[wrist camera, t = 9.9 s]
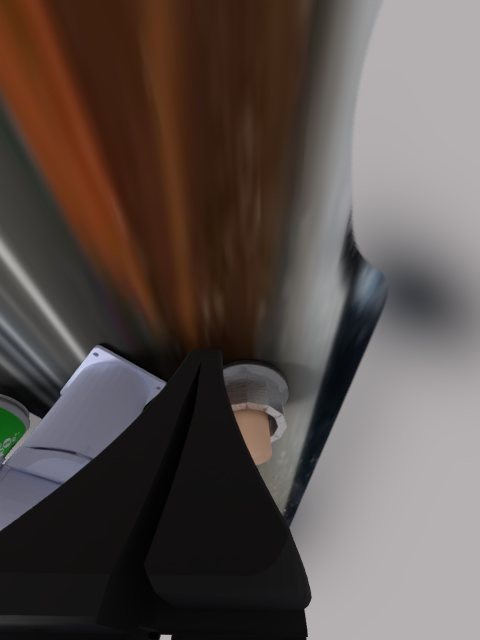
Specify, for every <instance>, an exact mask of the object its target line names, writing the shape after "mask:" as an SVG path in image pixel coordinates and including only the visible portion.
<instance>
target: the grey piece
mask: <svg viewBox="0 0 480 640" xmlns="http://www.w3.org/2000/svg"><path fill="white" fill-rule="evenodd" d="M223 374H224V381H225V386H226V390H227V393H228V397H229V400H230V403H231V406H232V410H233V411H235V410H241V409H246V408H249V409H255V410H262V411H265V412H266V413H268V421H269V430H270V439H271V442H273V441H275V440H277V439H279V438H280V437H281V436H282V434H283V433H284V431H285V429H286V428H287V424H286V418H285V413H284V406H285V404H286V403H287V400H288V397H289V391H288V386H287V381H286V379H285V377H284V375H283V374H282V373H281V371H279V370H278V369H277V368H276V367H274V366H272V365H270V364H268V363H265V362H262V361H258V360H237V361H232V362H229V363H226V364H224V365H223Z"/></svg>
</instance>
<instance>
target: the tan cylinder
mask: <svg viewBox="0 0 480 640" xmlns="http://www.w3.org/2000/svg"><path fill="white" fill-rule="evenodd" d="M233 412H234V415H235V418H236V421H237V423H238V426H239V429H240V431H241V433H242V436H243V438H244V441H245V443H246V445H247V448H248V450H249V452H250V454H251V456H252V458H253V460H254V462H255V465H258V464H262V463H264V462H266V461H268V460H269V459H270V458H271V456H272V448H271V439H270V430H269V421H268V413H266V412H265V411H262V410H255V409H249V408H246V409H241V410H235V411H233Z"/></svg>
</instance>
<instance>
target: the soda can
mask: <svg viewBox="0 0 480 640" xmlns="http://www.w3.org/2000/svg"><path fill="white" fill-rule="evenodd" d="M29 427H30V421H29V412H28V410H27V408H26V407H25V406H24V405H23V404H21V403H20V402H18V401H17V400H15V399H13V398H11V397H8V396H6V395H2V394H0V457H2V458H5V456H6V455H7V454H8V453H9V452H10V450H11V449H12V448H13V447H14V446H15V444H16V443H17V442H18V441H19V440H20V438H21V437H22V436H23V435H24V434H25V432H26V431H27V430H28V429H29Z"/></svg>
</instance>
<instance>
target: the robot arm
mask: <svg viewBox="0 0 480 640" xmlns="http://www.w3.org/2000/svg"><path fill="white" fill-rule="evenodd" d="M97 353H98V354H97ZM60 394H61V395H62V396H61V397H60V398H59V399H58V401H57V402H56V403H55V404H54V406H53V407H52V408H51V409H50V411H49V412H48V413H47V414H46V416H45V417H44V418H43V419H42V420H41V422H40V423H39V424H38V426H37V427H36V428H35V429H34V430H33V432H32V433H31V434H30V435H29V437H28V438H27V439H26V440H25V442H24V443H23V444H22V445H21V446H20V447H19V448H18V449H17V450H16V451H15V452H14V454H13V455H12V456H11V457H10V458H9V459H8V460H7V462H6V463H5V464H4V465H3V464H2V463H3V462H4V460H5V458H2V457H0V640H159V639H160V635H172V637H171V640H306V637H308V634H307V625H306V618H305V611H304V609H305V608H306V607H307V606H308V605H309V603H310V601H311V590H310V586H309V582H308V578H307V575H306V572H305V569H304V566H303V563H302V560H301V558H300V555H299V552H298V550H297V548H296V545H295V542H294V540H293V537H292V534H291V532H290V529H289V527H288V525H287V523H286V521H285V520H284V518H283V516H282V514H281V513H280V511H279V509H278V507H277V505H276V504H275V502H274V500H273V498H272V496H271V494H270V492H269V491H268V489H267V487H266V485H265V483H264V481H263V479H262V477H261V475H260V473H259V471H258V469H257V467H256V465H255V462H254V460H253V458H252V456H251V454H250V452H249V450H248V448H247V445H246V443H245V441H244V438H243V436H242V433H241V431H240V429H239V426H238V423H237V421H236V418H235V415H234V412H233V410H232V406H231V403H230V400H229V397H228V393H227V390H226V386H225V381H224V374H223V359H222V351H220V350H191V351H190V352H189V353H188V355H187V356H186V358H185V359H184V361H183V362H182V364H181V365H180V366H179V368H178V369H177V371H176V372H175V373H174V375H173V376H172V377H171V379H170V380H169V381H168V382H167V384H166V382H165V381H163V380H161V379H160V378H158V377H156V376H154V375H152V374H151V373H149V372H147V371H145V370H144V369H142V368H140V367H138V366H136V365H135V364H133V363H131V362H129V361H128V360H126V359H124V358H122V357H120V356H119V355H117V354H115V353H113V352H112V351H110V350H108V349H106V348H104V347H103V346H100V345H97V346H95V347H94V349H93V350H92V351H91V352H90V354H89V355H88V356H87V358H86V359H85V360H84V361H83V363H82V364H81V365H80V367H79V368H78V369H77V371H76V372H75V373H74V374H73V376H72V377H71V378H70V380H69V381H68V382H67V384H66V385H65V386H64V387H63V389H62V390H61V391H60ZM156 395H157V396H156ZM155 396H156V397H155ZM154 397H155V398H154ZM153 398H154V399H153ZM152 399H153V401H152V402H151V403H150V404H149V405H148V406H147V407H146V409H145V410H144V411H143V408H144V406H145V405H146V404H147V403H148V402H150V401H151V400H152ZM142 411H143V412H142Z"/></svg>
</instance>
